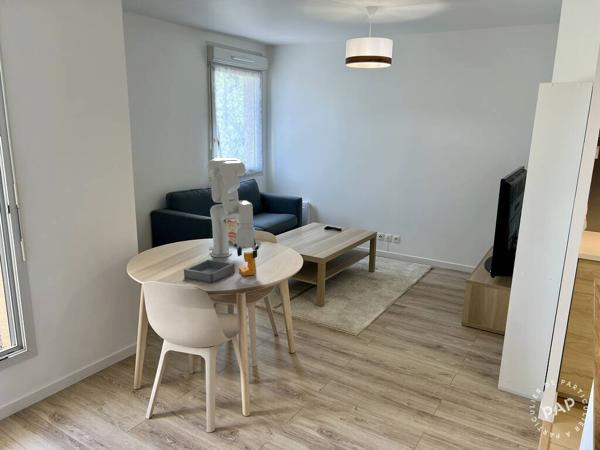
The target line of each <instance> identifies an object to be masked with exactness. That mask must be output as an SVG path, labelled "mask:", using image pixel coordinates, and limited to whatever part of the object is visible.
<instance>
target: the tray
mask: <svg viewBox="0 0 600 450" xmlns="http://www.w3.org/2000/svg"><path fill="white" fill-rule="evenodd" d="M232 274H235V263H233V262H225V261H219V260H213V259H206V260H204V261H201V262H198V263H196V264H193V265H191V266H189V267H186V268H184V269H183V276H184V278H183V279H186V280H190V281H195V282H201V283H206V284H211V285H212V283H213V284H214V282H215V283H216V282H219V281H221V280H223V279H224V278H227V277H228V276H230V275H232Z"/></svg>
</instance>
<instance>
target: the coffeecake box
mask: <svg viewBox="0 0 600 450" xmlns="http://www.w3.org/2000/svg"><path fill="white" fill-rule="evenodd" d="M225 223H226V224H227V226H228V236H229V242H232V243H233V240H235V239H237V230H238V228H239V225H237V223H239V215H238V217H237V218H234V219H226V220H225Z"/></svg>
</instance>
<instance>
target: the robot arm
mask: <svg viewBox="0 0 600 450" xmlns="http://www.w3.org/2000/svg"><path fill="white" fill-rule="evenodd" d="M246 170H247V169H246V166H245V164H244V163H243V161H241V160H240V159H238V158H235V157H234V158H233V157H231V158H229V157H228V158H213V159H210V160H209V161H208V162H207V172H208V176H209V179H210V183H211V184H210V185H211V187H210V188H211V189H210V190H211V199H212V200H213V203H221V204H215V205H212V206H211V207H210V209H209V212H210V213H209V214H210V218H211V225H212V227H211V228H212V245H213V246H210V247H209V248H208V250H209V251H211V252H210V254H211V255H210V256H212V257H215V258H226V257H230V256H232V251H231V250H230V243H229V242H230V241H229V236H228V226H227V224H226V219H234V218H237V217H238V215H239V223H237V225H239V228H238V230H237V239H235V240H233V242H232V243H233V244H234V247H235V249H236V251H237V252H236V253H237V257H241V256H243V251H242V250H243V249H242V248H249V249H252V251H253V258H255V259H256V258H257V257H258V251H259V249H260V248H261V245H262V242H261V241H259V240H257V235H256V230H255V227H254V213H253V212H254V211H253V208H254V207H253V204H252V202H250V201H248V200H247V199H246V200H245V199H244V200H239V192H238V189H239V188H240V187H241V182H240V179H239V177H242V176H244V175H245V174H246Z"/></svg>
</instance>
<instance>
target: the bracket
mask: <svg viewBox="0 0 600 450" xmlns="http://www.w3.org/2000/svg"><path fill="white" fill-rule="evenodd" d="M253 251H254V250H252V251H245V252H244V253H243V259H244V262H245V263H247V265H239V266H238V271H239V274H240V275H241V276H243V277H244V276H252V275H257V267H256V266H257V265H256V258H253Z"/></svg>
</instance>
